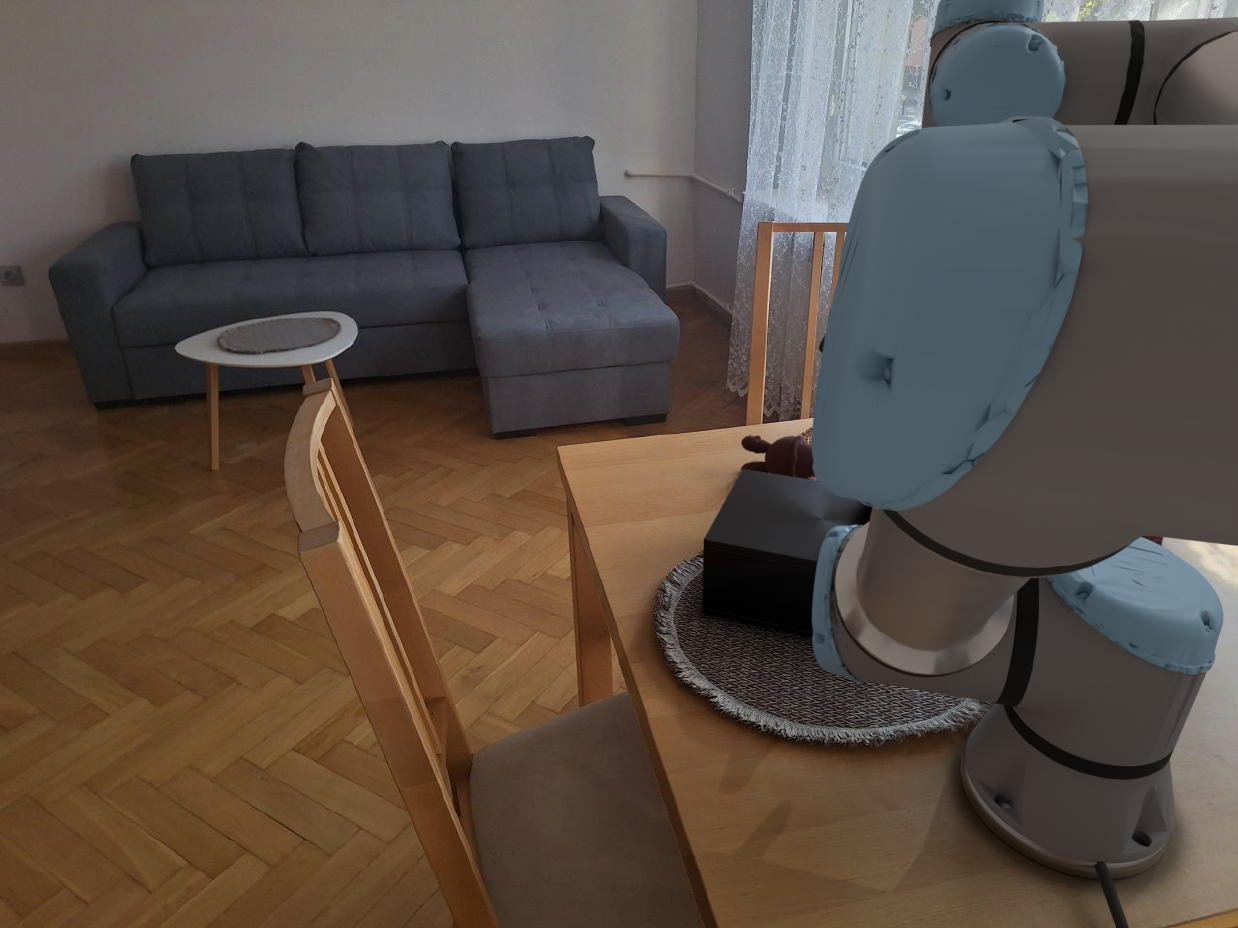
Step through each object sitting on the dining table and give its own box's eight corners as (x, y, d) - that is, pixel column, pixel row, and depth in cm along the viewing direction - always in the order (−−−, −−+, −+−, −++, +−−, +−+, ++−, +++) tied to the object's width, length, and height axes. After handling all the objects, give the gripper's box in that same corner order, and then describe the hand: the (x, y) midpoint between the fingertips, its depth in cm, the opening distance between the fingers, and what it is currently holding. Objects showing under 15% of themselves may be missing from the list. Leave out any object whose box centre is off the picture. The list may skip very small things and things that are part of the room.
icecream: (857, 433, 111) (748, 426, 117) (849, 444, 105) (734, 436, 111) (854, 483, 113) (747, 473, 119) (846, 497, 106) (733, 486, 112)
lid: (933, 506, 90) (947, 429, 86) (921, 589, 78) (937, 504, 73) (742, 474, 98) (745, 402, 93) (703, 545, 85) (704, 466, 81)
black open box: (914, 570, 95) (926, 505, 91) (900, 658, 82) (912, 587, 78) (739, 537, 102) (742, 475, 98) (701, 613, 90) (703, 546, 85)
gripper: (1123, 200, 67) (1064, 433, 78) (814, 187, 76) (798, 398, 86) (1134, 221, 61) (1068, 470, 72) (798, 205, 70) (782, 429, 80)
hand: (921, 431), depth 79 cm, fingers open, 13 cm apart
